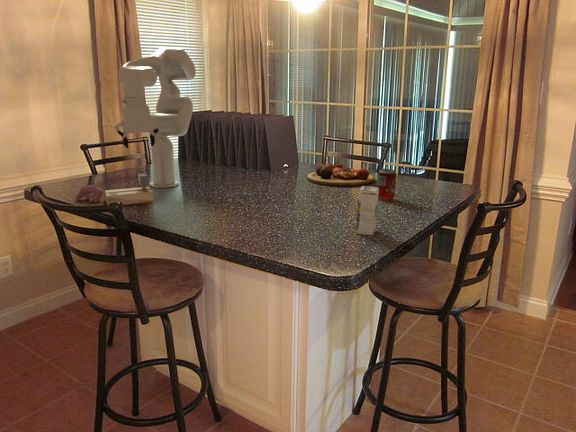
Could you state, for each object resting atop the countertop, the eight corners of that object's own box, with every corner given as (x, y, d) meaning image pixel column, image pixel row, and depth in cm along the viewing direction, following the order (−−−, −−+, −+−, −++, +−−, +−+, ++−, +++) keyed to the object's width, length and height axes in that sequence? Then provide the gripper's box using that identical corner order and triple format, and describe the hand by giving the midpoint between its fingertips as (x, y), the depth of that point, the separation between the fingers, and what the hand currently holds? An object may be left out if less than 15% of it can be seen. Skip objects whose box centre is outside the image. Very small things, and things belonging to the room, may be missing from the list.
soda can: (390, 202, 190) (392, 172, 187) (373, 200, 194) (375, 170, 191) (397, 199, 196) (399, 169, 193) (381, 196, 200) (383, 167, 197)
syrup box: (358, 228, 158) (360, 185, 154) (376, 230, 157) (379, 187, 153) (355, 233, 153) (357, 189, 149) (374, 235, 151) (376, 191, 147)
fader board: (105, 200, 189) (104, 190, 188) (149, 196, 196) (149, 186, 195) (107, 206, 182) (106, 195, 180) (153, 201, 189) (153, 191, 187)
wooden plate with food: (388, 182, 227) (389, 165, 225) (335, 190, 210) (336, 171, 208) (344, 172, 253) (344, 156, 251) (294, 178, 236) (294, 161, 234)
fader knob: (139, 187, 192) (137, 173, 190) (146, 187, 193) (145, 173, 191) (141, 190, 187) (139, 176, 186) (148, 189, 189) (147, 175, 187)
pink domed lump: (102, 204, 189) (106, 187, 190) (95, 202, 185) (98, 184, 186) (81, 202, 192) (85, 185, 193) (74, 200, 188) (77, 182, 189)
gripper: (112, 103, 175) (117, 150, 181) (160, 101, 183) (164, 146, 188) (110, 101, 182) (115, 146, 187) (156, 100, 189) (159, 143, 195)
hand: (139, 146), depth 188 cm, fingers open, 9 cm apart
